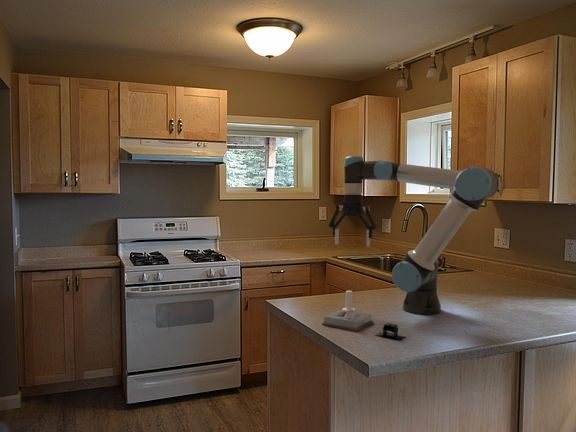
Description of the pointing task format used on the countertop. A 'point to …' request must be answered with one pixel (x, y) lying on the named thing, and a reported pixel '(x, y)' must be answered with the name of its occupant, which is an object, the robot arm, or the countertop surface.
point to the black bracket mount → (390, 335)
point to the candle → (348, 304)
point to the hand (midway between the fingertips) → (352, 245)
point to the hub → (348, 320)
